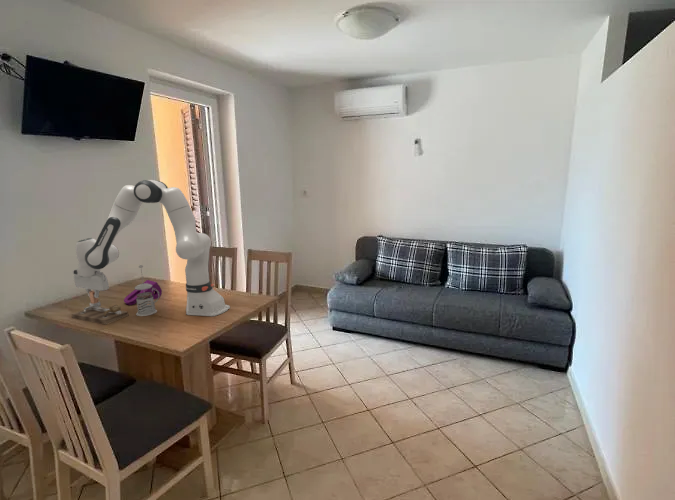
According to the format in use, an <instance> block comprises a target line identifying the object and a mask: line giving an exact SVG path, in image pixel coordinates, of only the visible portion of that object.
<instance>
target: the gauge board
mask: <svg viewBox="0 0 675 500" xmlns="http://www.w3.org/2000/svg"><path fill="white" fill-rule="evenodd" d="M128 316H129V312H128V311H126V310H122V309H121V305H120V304H113V305H111V306H109V307H108V308H107V307H102V306H100V307H97V308H90V309H87V310H86V313H84V309H82V310H79V311H77V312H73V313H72V314H71V318H72V319H75V320H76V319H77V320H81V321H86V322H92V323H97V324H102V325H107V324H111V323H113V322H116V321H118V320H120V319H123V318H126V317H128Z"/></svg>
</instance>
